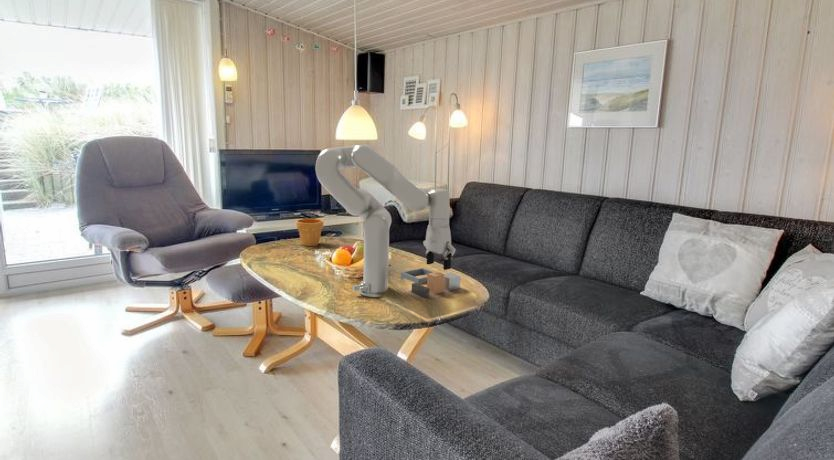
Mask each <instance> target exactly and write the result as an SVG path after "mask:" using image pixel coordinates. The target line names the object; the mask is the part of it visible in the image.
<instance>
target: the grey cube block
mask: <svg viewBox="0 0 834 460" xmlns="http://www.w3.org/2000/svg"><path fill="white" fill-rule="evenodd" d="M443 274H444V289H445V290H448V291H451V290H455V289H460V288H461V282H462V281H461V280H462V276H461V275H458V274H456V273H452V272H447V273H443Z"/></svg>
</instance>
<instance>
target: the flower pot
mask: <svg viewBox="0 0 834 460" xmlns="http://www.w3.org/2000/svg"><path fill="white" fill-rule="evenodd" d="M295 223H296V229H297V230H298V234H299V238H300V242H301V243H300V244H301V245H302V246H305V247H315V246H318V245H319V243H320V240H321V234H322V229H323V228H324V220H323V219H320V218H300V219H297V220H296V222H295Z"/></svg>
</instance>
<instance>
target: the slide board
mask: <svg viewBox="0 0 834 460" xmlns="http://www.w3.org/2000/svg"><path fill="white" fill-rule="evenodd" d="M464 292H468V290H467V289H465V288H461V287H460V289H455V290H451V291H448V290H445V289H444V292H441V293H436V294H432V293H430V292H429V288H427V286H425V285H422V284H418V283H415V282H412V283H411V290H408V291H402V294H405V295H406V296H408V297H411V298H413V299H415V300H418V301H420V302H427V301H432V300H434V299H438V298H442V297H447V296H451V295H457V294H459V293H460V294H461V293H464Z"/></svg>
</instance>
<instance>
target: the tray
mask: <svg viewBox="0 0 834 460" xmlns="http://www.w3.org/2000/svg"><path fill="white" fill-rule="evenodd" d="M434 272H435V271H432V270H429V269H426V268H423V267H421V268H416V269H410V270H404V271H400V280H403V279H404V280H408V281H411V282H412V283H418V284H420V285H422V284H425V283H426V284H427V278H428V274H429V273H434ZM425 275H427V276H425ZM419 276H423V277H419Z"/></svg>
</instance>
